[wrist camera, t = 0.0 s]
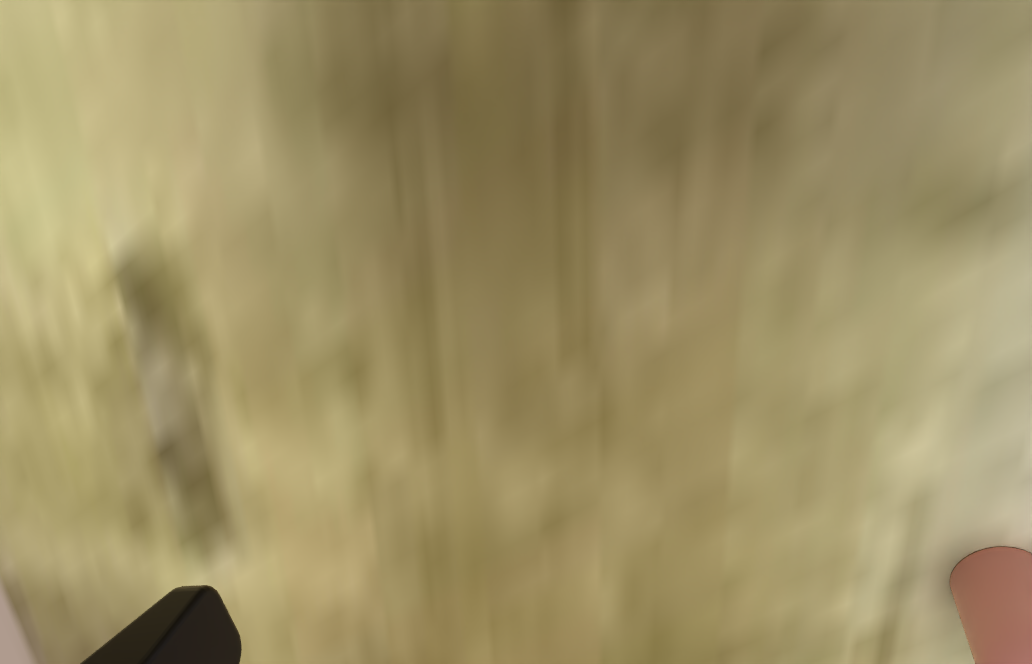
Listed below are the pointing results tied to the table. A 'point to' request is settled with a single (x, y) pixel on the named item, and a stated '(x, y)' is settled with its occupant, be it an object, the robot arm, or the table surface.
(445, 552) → the table surface
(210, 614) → the robot arm
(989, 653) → the rose marker
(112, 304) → the table surface
